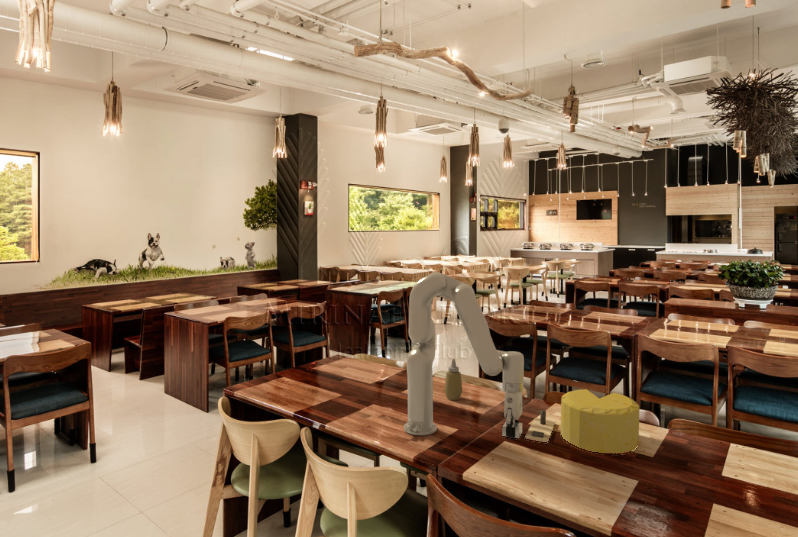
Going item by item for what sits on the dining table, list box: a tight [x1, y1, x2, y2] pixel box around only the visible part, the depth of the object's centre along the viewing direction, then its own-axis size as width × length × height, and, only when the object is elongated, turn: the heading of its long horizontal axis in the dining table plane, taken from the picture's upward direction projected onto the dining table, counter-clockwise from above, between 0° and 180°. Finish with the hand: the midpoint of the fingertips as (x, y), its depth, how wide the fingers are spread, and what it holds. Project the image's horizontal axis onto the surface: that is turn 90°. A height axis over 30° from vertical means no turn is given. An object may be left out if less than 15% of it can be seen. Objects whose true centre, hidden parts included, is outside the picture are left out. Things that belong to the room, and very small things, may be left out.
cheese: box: [560, 388, 640, 454], centre depth 176 cm, size 26×26×15 cm
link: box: [501, 421, 523, 439], centre depth 179 cm, size 6×6×4 cm
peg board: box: [524, 409, 556, 444], centre depth 183 cm, size 20×8×6 cm, turn 155°
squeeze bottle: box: [444, 358, 463, 401], centre depth 220 cm, size 8×8×18 cm
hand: (512, 433), depth 180 cm, fingers closed on link, 6 cm apart
